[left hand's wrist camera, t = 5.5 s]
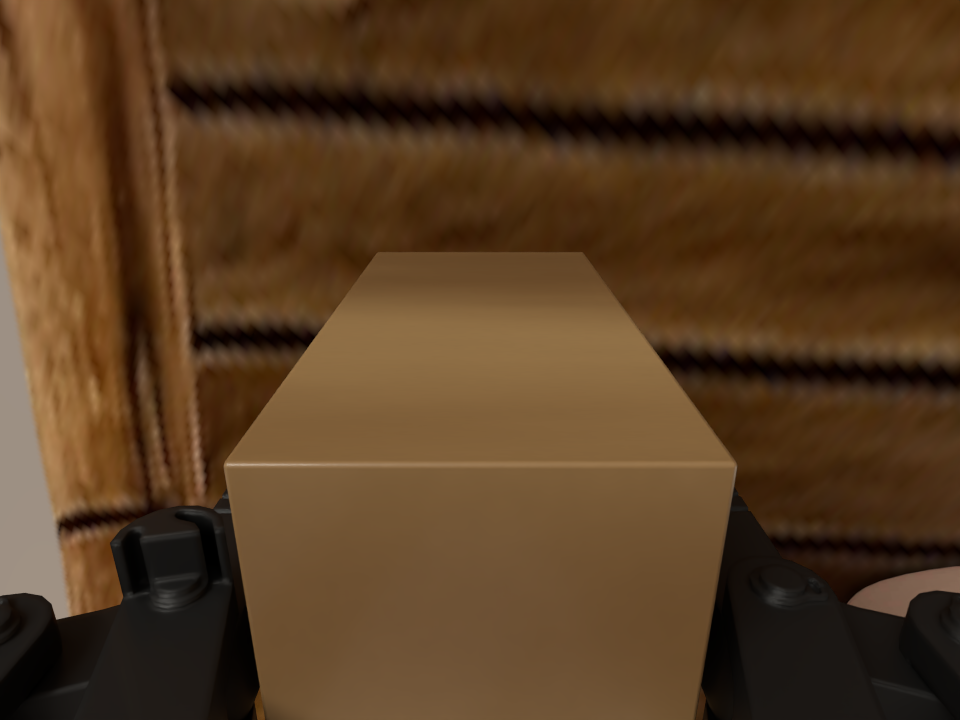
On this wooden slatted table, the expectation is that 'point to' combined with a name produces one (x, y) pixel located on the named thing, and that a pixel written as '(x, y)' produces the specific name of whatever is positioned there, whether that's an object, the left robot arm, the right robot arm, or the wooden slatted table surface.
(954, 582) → the anatomical model
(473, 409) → the bar
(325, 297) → the wooden slatted table surface
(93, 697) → the left robot arm
